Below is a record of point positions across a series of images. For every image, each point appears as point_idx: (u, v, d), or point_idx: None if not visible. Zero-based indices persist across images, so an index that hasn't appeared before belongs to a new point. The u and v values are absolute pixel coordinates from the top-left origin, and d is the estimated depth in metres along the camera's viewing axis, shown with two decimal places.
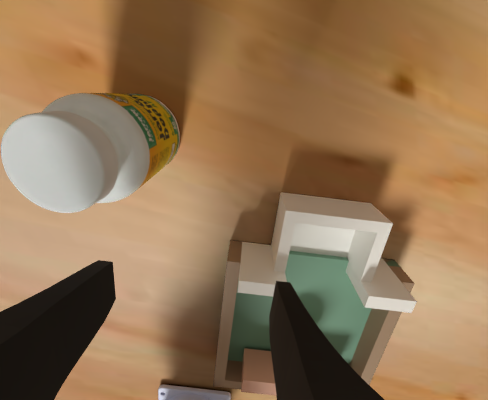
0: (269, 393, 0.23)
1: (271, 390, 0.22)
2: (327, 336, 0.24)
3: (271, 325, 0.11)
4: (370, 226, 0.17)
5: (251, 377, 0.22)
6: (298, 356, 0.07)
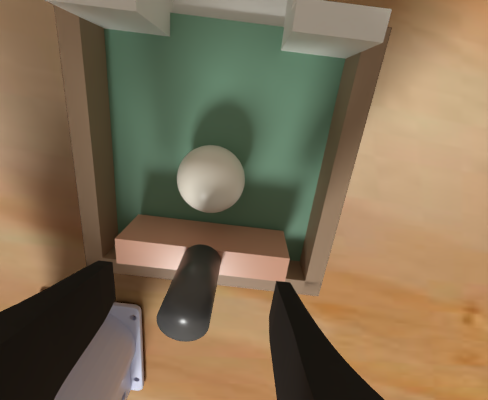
0: (162, 265, 0.14)
1: (164, 259, 0.14)
2: (264, 190, 0.16)
3: (271, 325, 0.11)
4: None
5: (131, 237, 0.14)
6: (298, 356, 0.07)
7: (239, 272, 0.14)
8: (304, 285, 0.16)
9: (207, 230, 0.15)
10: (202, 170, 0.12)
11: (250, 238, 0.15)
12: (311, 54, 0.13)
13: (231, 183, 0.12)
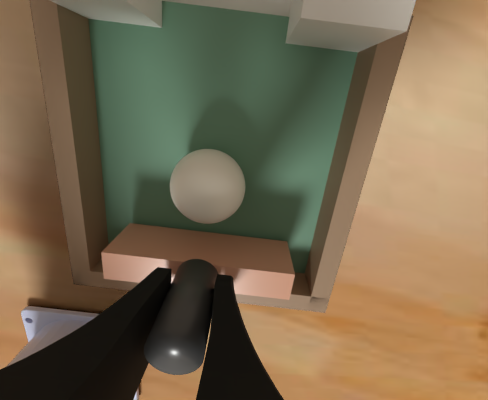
0: None
1: None
2: (266, 198, 0.14)
3: None
4: None
5: (119, 250, 0.12)
6: (208, 345, 0.07)
7: (239, 289, 0.13)
8: (310, 301, 0.14)
9: (204, 241, 0.14)
10: (197, 177, 0.11)
11: (252, 250, 0.14)
12: (319, 47, 0.12)
13: (230, 192, 0.11)
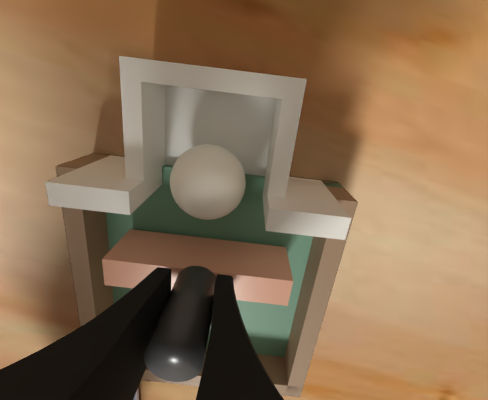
0: None
1: None
2: (250, 302, 0.17)
3: None
4: (269, 85, 0.10)
5: (120, 257, 0.12)
6: (208, 346, 0.07)
7: (238, 295, 0.13)
8: (286, 389, 0.17)
9: (203, 247, 0.14)
10: None
11: (251, 256, 0.14)
12: None
13: None
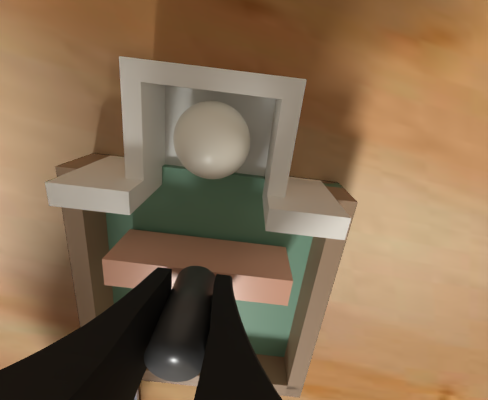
0: None
1: None
2: (250, 302, 0.17)
3: None
4: (268, 86, 0.10)
5: (120, 257, 0.12)
6: (206, 346, 0.07)
7: (238, 295, 0.13)
8: (286, 389, 0.17)
9: (203, 247, 0.14)
10: (199, 161, 0.11)
11: (250, 256, 0.14)
12: None
13: (233, 166, 0.11)
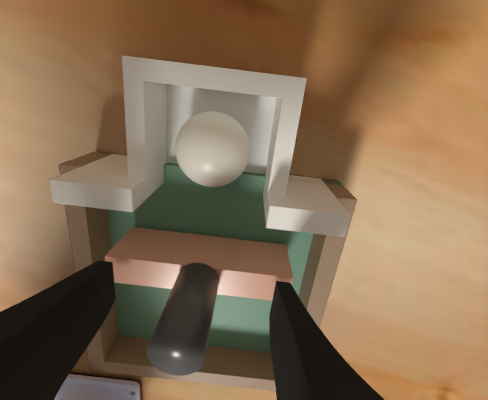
0: (156, 284, 0.13)
1: (158, 277, 0.13)
2: (250, 299, 0.17)
3: (271, 325, 0.11)
4: (269, 84, 0.10)
5: (122, 254, 0.13)
6: (298, 356, 0.07)
7: (239, 292, 0.13)
8: None
9: (204, 245, 0.14)
10: (201, 178, 0.12)
11: (251, 253, 0.14)
12: None
13: (233, 179, 0.12)
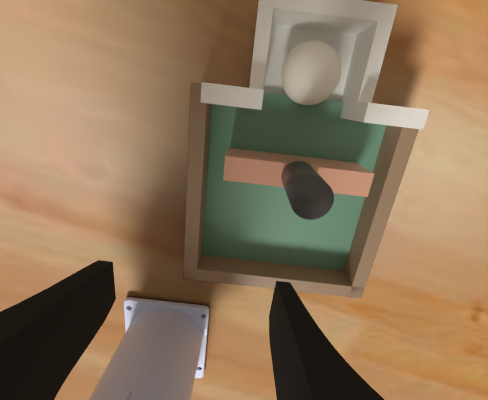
0: (262, 181, 0.16)
1: (265, 175, 0.16)
2: None
3: (271, 325, 0.11)
4: (369, 10, 0.14)
5: (237, 156, 0.16)
6: (298, 356, 0.07)
7: None
8: (351, 290, 0.20)
9: (293, 158, 0.17)
10: (306, 92, 0.15)
11: (333, 163, 0.17)
12: None
13: (328, 95, 0.15)
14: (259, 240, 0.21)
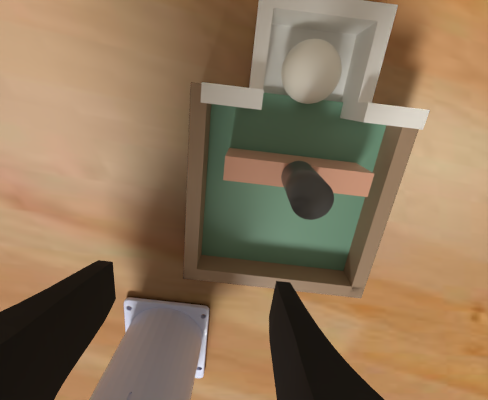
0: (262, 181, 0.16)
1: (265, 175, 0.16)
2: None
3: (271, 325, 0.11)
4: (369, 10, 0.14)
5: (237, 156, 0.16)
6: (298, 356, 0.07)
7: None
8: (351, 290, 0.20)
9: (293, 158, 0.17)
10: (307, 90, 0.15)
11: (333, 163, 0.17)
12: None
13: (328, 93, 0.15)
14: (259, 240, 0.21)
